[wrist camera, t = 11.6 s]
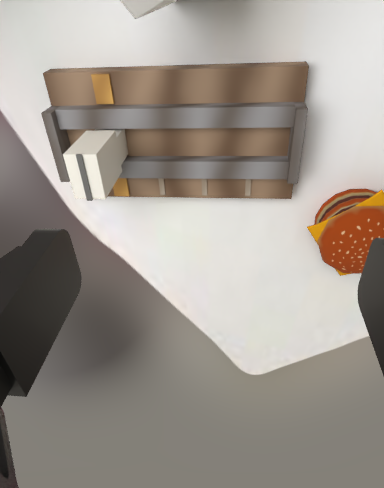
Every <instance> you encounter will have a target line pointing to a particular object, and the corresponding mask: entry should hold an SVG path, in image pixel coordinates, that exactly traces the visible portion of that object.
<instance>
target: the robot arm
mask: <svg viewBox="0 0 384 488" xmlns="http://www.w3.org/2000/svg"><path fill="white" fill-rule="evenodd" d="M80 287H81V272H80V268H79V265H78V262H77V259H76V255H75V252H74V248H73V245H72V242H71V238H70V235H69V233H68V232H67V231H66V230H64V229H36V230H35V231H34V232H33V233H32V234H31V235H30V237H29V238H28V239H27V240H26V241H25V243H24V244H23V245H22V246H18V247H16V248H15V249H13V250H12V251H11V252H9V253H7V254H6V255H5V256H3V257H2V258H0V488H19V487H18V483H17V479H16V474H15V468H14V463H13V458H12V452H11V447H10V441H9V436H8V431H7V425H6V420H5V415H4V411H3V409H2V408H1V406H2V404H3V402H4V400H5V399H6V397H7V395H12V396H25V397H26V396H27V394H28V392H29V390H30V389H31V387H32V385H33V383H34V381H35V379H36V377H37V375H38V373H39V371H40V369H41V366H42V365H43V363H44V361H45V359H46V357H47V355H48V353H49V351H50V349H51V347H52V345H53V343H54V341H55V339H56V337H57V335H58V333H59V331H60V329H61V327H62V325H63V323H64V321H65V319H66V317H67V316H68V314H69V312H70V310H71V308H72V306H73V304H74V302H75V300H76V298H77V296H78V294H79V291H80ZM358 303H359V307H360V310H361V313H362V316H363V319H364V322H365V324H366V327H367V330H368V333H369V336H370V338H371V341H372V344H373V347H374V350H375V353H376V356H377V358H378V361H379V364H380V367H381V370H382V372H383V375H384V238H375V239H374V240H373V241H372V243H371V245H370V249H369V252H368V255H367V258H366V262H365V265H364V268H363V272H362V275H361V278H360V281H359V285H358Z"/></svg>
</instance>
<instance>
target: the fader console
mask: <svg viewBox="0 0 384 488" xmlns="http://www.w3.org/2000/svg"><path fill="white" fill-rule="evenodd" d="M308 68H309V66H308V64H307V63H306V62H279V63H244V64H209V65H174V66H140V67H105V68H70V69H50V70H48V71H46V72H44V73H43V75H44V79H45V83H46V87H47V90H48V94H49V98H50V102H51V105H52V106H51V107H49V108H48V109H47V110H45V111H44V112H42V113H41V114H42V117H43V121H44V124H45V128H46V131H47V135H48V138H49V142H50V145H51V149H52V152H53V156H54V159H55V163H56V166H57V170H58V173H59V177H60V180H61V182H70V179H69V175H68V172H67V168H66V164H65V160H64V157H63V154H64V153H65V152H66V151H67V150H68V149H69V148H70V147H71V146H72V145H73V144H74V143H75V142H76V141H77V140H78V139H79V138H80V137H81V136H82V135H83V133H84V132H85V131H94V130H95V129H124V130H125V136H126V142H127V149H128V155H127V157H126V158H125V160H124V162H123V163H122V165H121V167H122V173H121V174H120V176H119V178H118V179H117V181H116V183H115V184H114V186H113V188H112V189H111V191H110V193H109V194H108V196H122V197H198V198H275V199H291V197H292V189H293V184H297V183H298V176H299V169H300V162H301V154H302V147H303V140H304V133H305V126H306V119H307V111H308V109H307V107H306V105H305V103H304V98H305V91H306V83H307V76H308Z"/></svg>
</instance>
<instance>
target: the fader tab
mask: <svg viewBox="0 0 384 488" xmlns="http://www.w3.org/2000/svg"><path fill="white" fill-rule="evenodd" d="M127 155H128V149H127V142H126V136H125V130H124V129H95V130H94V131H85V132H84V133H83V135H82V136H81V137H80V138H79V139H78V140H77V141H76V142H75V143H74V144H73V145H72V146H71V147H70V148H69V149H68V150H67V151H66V152H65V153H64V154H63V157H64V160H65V164H66V168H67V172H68V175H69V179H70V183H71V186H72V190H73V194H74V197H75V199H87V200H88V201H92V200H93V199H106V198H107V196H108V194H109V193H110V191H111V189H112V188H113V186H114V184H115V183H116V181H117V179H118V178H119V176H120V174H121V173H122V167H121V165H122V163H123V162H124V160H125V158H126V157H127Z"/></svg>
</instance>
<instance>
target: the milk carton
mask: <svg viewBox="0 0 384 488" xmlns="http://www.w3.org/2000/svg"><path fill="white" fill-rule="evenodd" d="M120 1H121V2H122V3H123V4H124V6H125V7H126V8H127V9H128V11H129V12H130V13H131V14H132V16H133V17H134V18H135V19H137V18H139V17H142V16H144V15H146V14H148V13H151V12H153V11H155V10H158V9H160V8H162V7H164V6H167V5H169V4H171V3H173V2H175V1H177V0H120Z"/></svg>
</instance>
